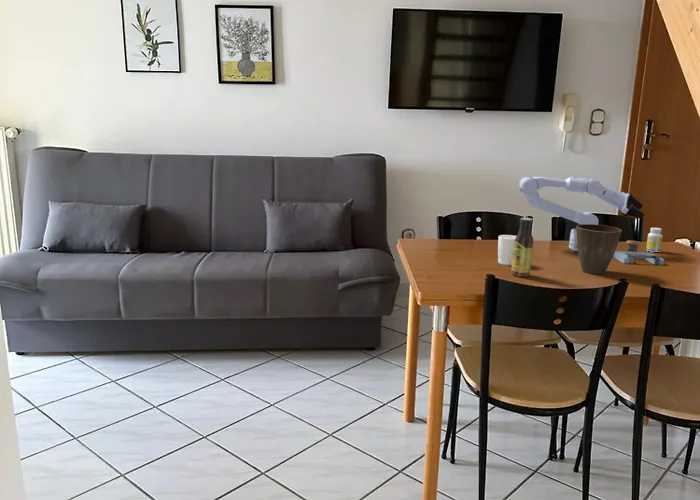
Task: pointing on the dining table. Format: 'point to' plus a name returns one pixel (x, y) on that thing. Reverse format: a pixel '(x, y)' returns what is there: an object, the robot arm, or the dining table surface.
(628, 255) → the hook bar
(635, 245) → the spool
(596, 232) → the plant pot
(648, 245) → the supplement bottle
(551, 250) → the dining table surface
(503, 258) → the white cup
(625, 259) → the notched board
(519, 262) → the sauce bottle
